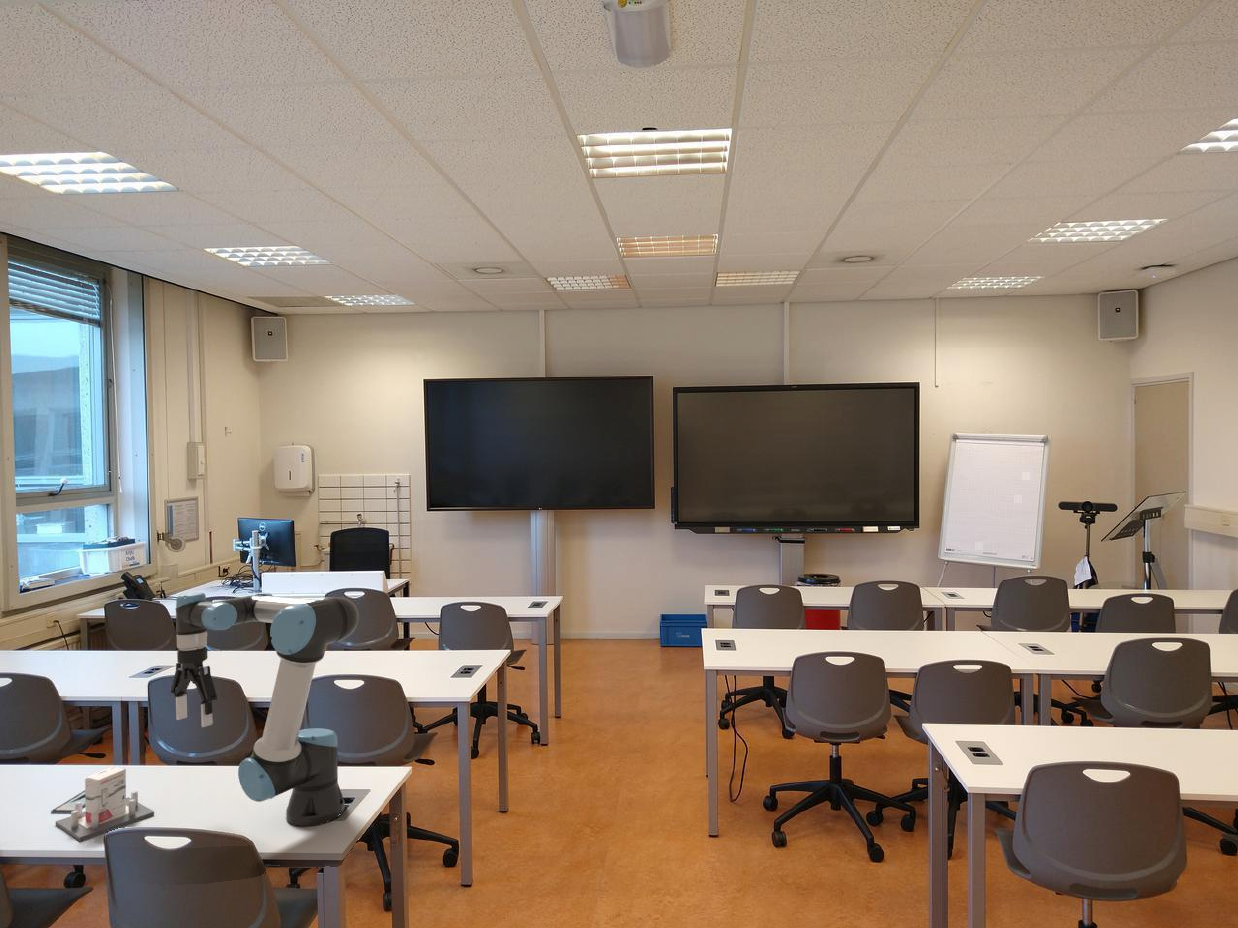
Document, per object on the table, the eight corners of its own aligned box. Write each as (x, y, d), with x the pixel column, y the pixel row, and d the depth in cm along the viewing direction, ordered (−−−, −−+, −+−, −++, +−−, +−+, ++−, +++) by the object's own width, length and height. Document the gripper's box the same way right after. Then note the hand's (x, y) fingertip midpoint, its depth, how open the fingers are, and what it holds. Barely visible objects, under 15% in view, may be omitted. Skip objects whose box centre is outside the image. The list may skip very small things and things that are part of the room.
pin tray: (154, 814, 212) (153, 796, 212) (79, 841, 198) (79, 822, 198) (128, 800, 222) (128, 783, 222) (55, 824, 207) (55, 806, 207)
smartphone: (48, 811, 214) (87, 787, 229) (49, 815, 214) (87, 791, 229) (74, 812, 214) (111, 788, 229) (74, 815, 214) (111, 791, 229)
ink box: (97, 823, 205) (97, 780, 205) (84, 821, 206) (83, 777, 206) (127, 809, 213) (126, 767, 213) (113, 807, 214) (113, 765, 214)
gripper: (229, 648, 214) (231, 724, 213) (182, 640, 227) (184, 712, 227) (202, 654, 207) (204, 732, 207) (156, 646, 221) (158, 719, 221)
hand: (194, 722), depth 217 cm, fingers open, 13 cm apart
